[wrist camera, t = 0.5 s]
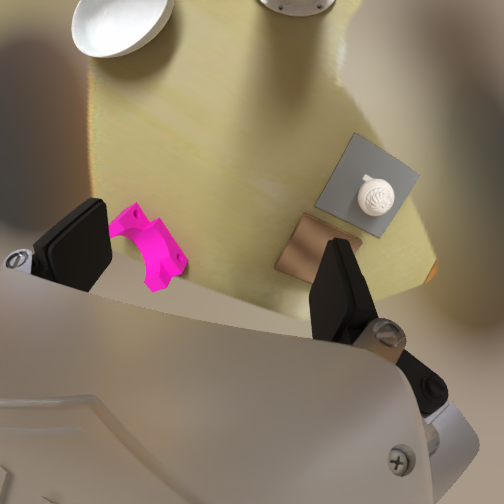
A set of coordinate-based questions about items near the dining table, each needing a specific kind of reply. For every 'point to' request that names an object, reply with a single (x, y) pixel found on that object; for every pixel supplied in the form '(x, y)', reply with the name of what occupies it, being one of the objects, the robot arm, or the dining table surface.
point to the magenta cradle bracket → (151, 246)
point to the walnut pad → (310, 247)
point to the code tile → (355, 175)
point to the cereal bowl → (118, 25)
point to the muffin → (376, 197)
